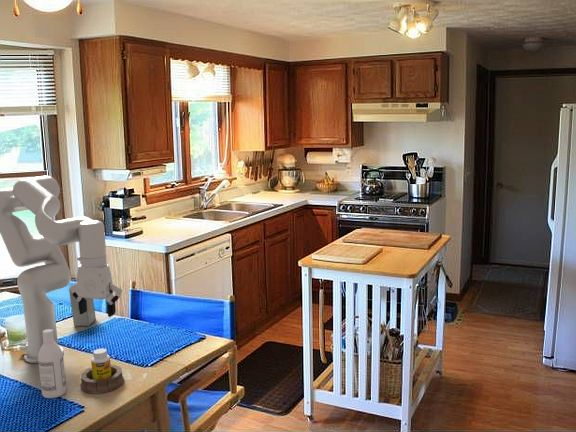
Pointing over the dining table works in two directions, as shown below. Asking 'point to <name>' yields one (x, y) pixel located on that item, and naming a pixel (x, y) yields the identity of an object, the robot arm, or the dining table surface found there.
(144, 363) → the dining table surface
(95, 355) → the supplement bottle
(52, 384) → the bath foam
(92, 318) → the skincare box
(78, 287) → the robot arm
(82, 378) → the round brown bowl
